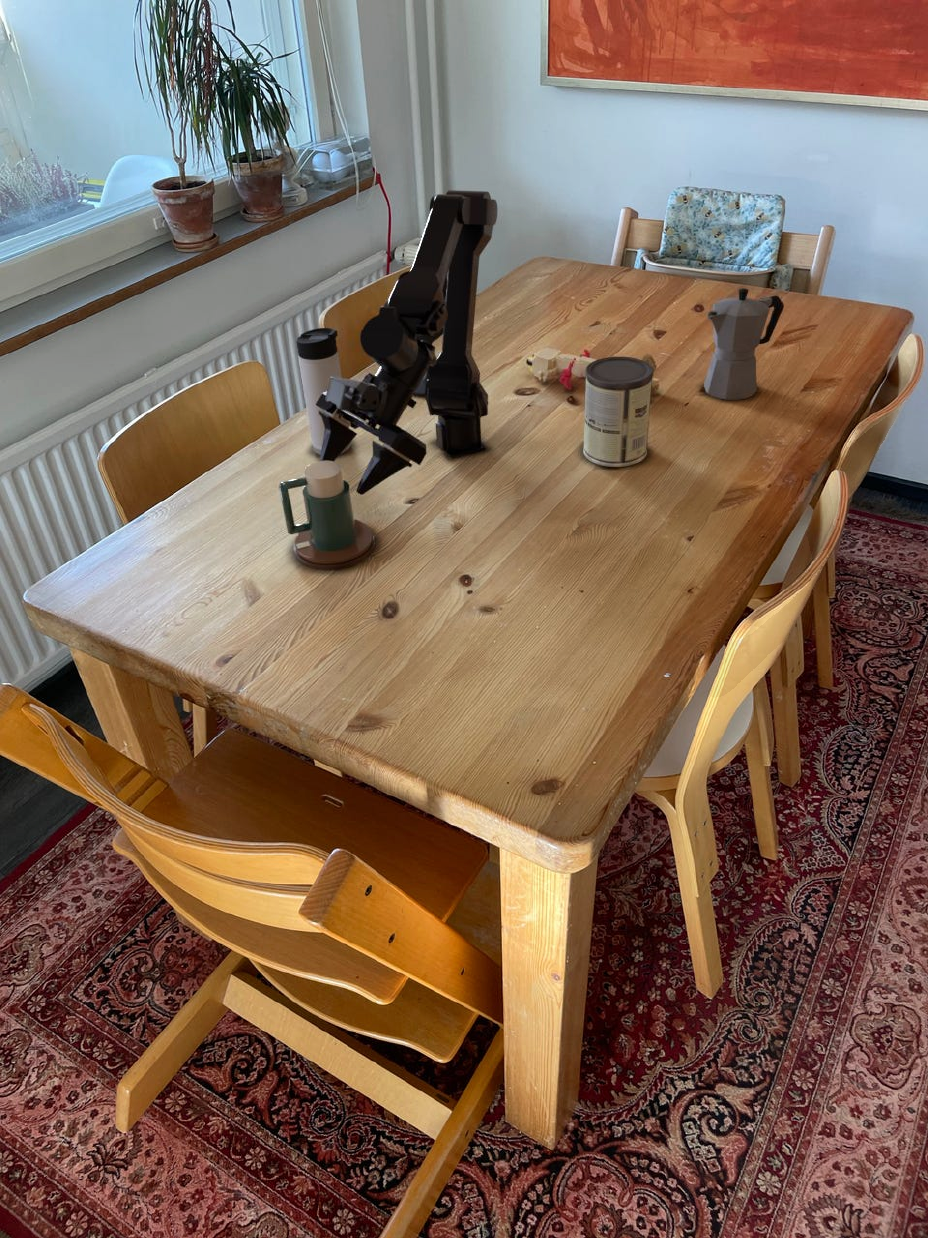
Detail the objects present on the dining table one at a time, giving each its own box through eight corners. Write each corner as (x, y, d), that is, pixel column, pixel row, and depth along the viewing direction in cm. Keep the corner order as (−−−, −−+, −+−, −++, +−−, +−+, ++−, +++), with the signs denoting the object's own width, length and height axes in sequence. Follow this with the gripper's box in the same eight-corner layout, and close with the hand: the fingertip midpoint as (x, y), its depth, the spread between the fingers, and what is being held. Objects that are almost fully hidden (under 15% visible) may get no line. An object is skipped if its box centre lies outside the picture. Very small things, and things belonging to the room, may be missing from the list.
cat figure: (661, 393, 170) (538, 359, 180) (669, 347, 165) (542, 315, 174) (640, 415, 164) (514, 379, 173) (647, 368, 158) (517, 334, 167)
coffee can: (594, 433, 157) (597, 352, 148) (654, 443, 153) (661, 360, 145) (573, 461, 150) (575, 377, 141) (636, 472, 146) (642, 387, 137)
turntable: (360, 517, 139) (359, 513, 139) (387, 556, 131) (387, 551, 130) (284, 537, 136) (283, 533, 135) (307, 579, 127) (306, 574, 127)
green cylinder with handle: (361, 514, 138) (352, 443, 131) (382, 552, 130) (373, 479, 123) (283, 532, 135) (269, 460, 128) (299, 572, 127) (286, 498, 120)
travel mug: (345, 457, 154) (329, 340, 142) (308, 455, 155) (288, 338, 143) (357, 440, 159) (342, 324, 146) (320, 437, 160) (302, 323, 148)
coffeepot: (713, 407, 162) (727, 304, 151) (683, 387, 169) (694, 287, 158) (787, 389, 167) (805, 287, 156) (754, 370, 174) (769, 271, 162)
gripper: (317, 333, 126) (261, 434, 128) (401, 372, 115) (338, 483, 116) (371, 371, 135) (317, 466, 136) (453, 412, 124) (394, 514, 125)
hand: (339, 481), depth 128 cm, fingers open, 9 cm apart
